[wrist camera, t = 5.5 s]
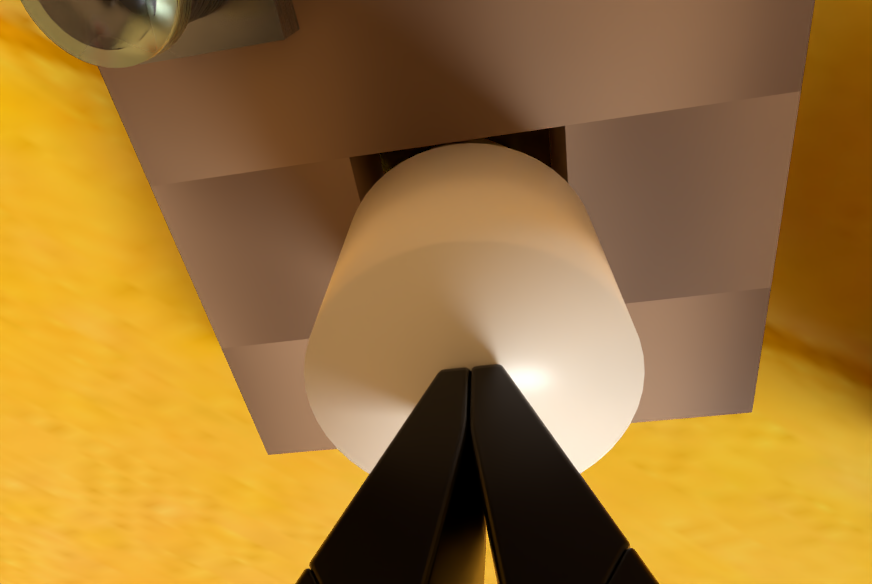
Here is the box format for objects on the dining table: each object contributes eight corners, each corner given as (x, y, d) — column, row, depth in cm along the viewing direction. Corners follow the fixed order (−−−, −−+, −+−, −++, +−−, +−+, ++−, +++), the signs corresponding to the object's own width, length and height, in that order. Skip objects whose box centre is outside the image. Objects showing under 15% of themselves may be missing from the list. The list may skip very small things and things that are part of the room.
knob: (566, 83, 12) (648, 216, 7) (576, 277, 14) (641, 489, 9) (345, 117, 13) (258, 265, 7) (389, 299, 15) (348, 511, 10)
